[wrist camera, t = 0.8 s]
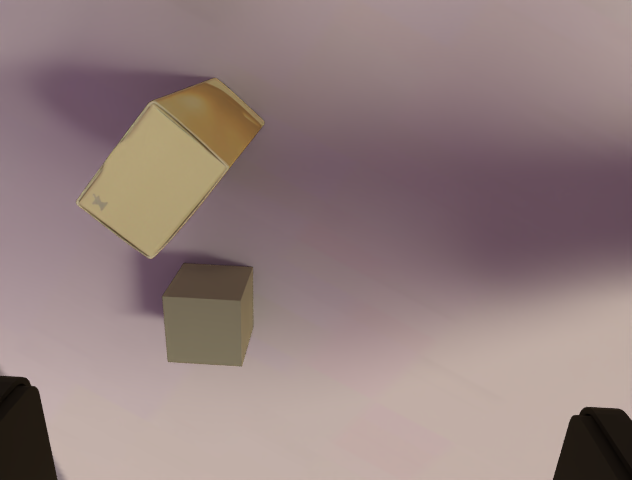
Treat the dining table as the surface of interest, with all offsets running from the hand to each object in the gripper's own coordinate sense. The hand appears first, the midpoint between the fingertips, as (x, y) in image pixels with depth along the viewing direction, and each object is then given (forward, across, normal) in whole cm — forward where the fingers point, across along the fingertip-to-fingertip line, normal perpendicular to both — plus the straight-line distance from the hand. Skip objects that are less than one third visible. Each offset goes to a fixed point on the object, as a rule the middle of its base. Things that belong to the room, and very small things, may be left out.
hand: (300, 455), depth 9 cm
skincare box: (+27, +7, 0) cm, 28 cm away
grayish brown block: (+27, +7, +12) cm, 30 cm away
